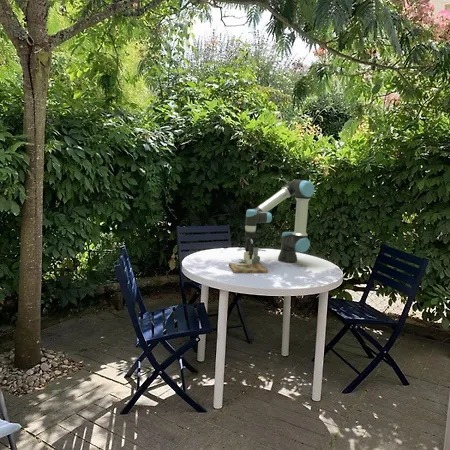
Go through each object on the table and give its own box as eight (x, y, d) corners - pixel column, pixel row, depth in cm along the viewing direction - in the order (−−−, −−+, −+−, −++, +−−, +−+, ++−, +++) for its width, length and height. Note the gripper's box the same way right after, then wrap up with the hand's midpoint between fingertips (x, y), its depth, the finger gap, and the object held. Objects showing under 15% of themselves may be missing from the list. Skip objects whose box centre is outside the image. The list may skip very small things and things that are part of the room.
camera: (262, 248, 316) (243, 249, 311) (261, 263, 318) (243, 265, 313) (257, 246, 324) (239, 247, 319) (256, 261, 326) (238, 262, 321)
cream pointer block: (252, 265, 305) (253, 251, 303) (253, 266, 302) (254, 252, 300) (235, 265, 302) (235, 251, 301) (235, 266, 300) (236, 252, 298)
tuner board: (260, 266, 311) (260, 263, 311) (267, 273, 293) (267, 270, 293) (228, 265, 307) (228, 262, 307) (233, 273, 289) (234, 270, 288)
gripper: (242, 228, 308) (240, 258, 312) (248, 233, 288) (246, 265, 291) (251, 228, 310) (250, 258, 313) (259, 234, 289) (257, 265, 293)
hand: (248, 261), depth 302 cm, fingers open, 9 cm apart
